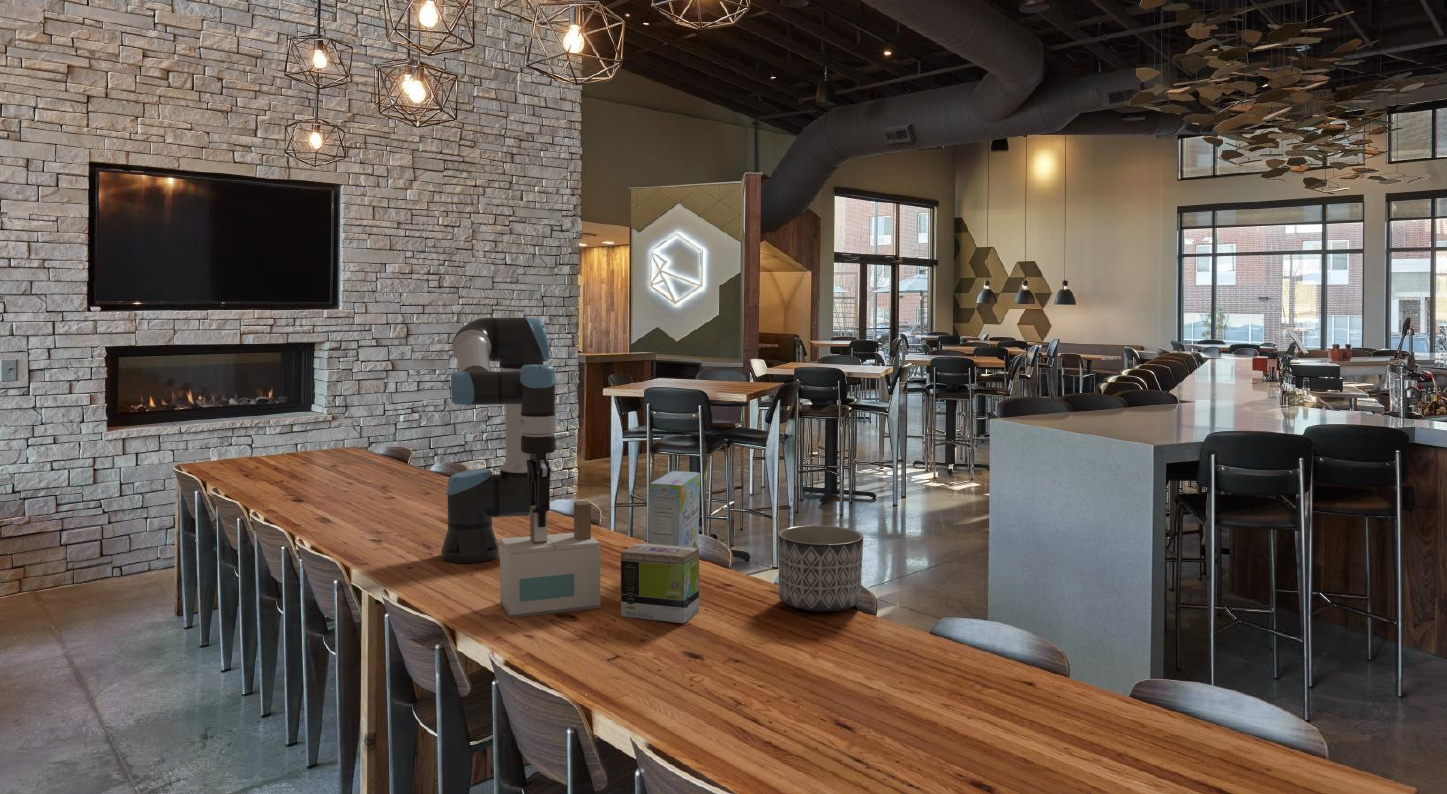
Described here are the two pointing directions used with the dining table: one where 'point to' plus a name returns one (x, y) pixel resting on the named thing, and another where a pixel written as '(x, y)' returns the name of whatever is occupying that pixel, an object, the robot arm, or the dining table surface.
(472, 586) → the dining table surface
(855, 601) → the planter
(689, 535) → the snack box
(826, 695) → the dining table surface
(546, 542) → the flap near
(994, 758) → the dining table surface
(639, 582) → the tea box
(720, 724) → the dining table surface
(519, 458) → the robot arm
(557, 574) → the carton
